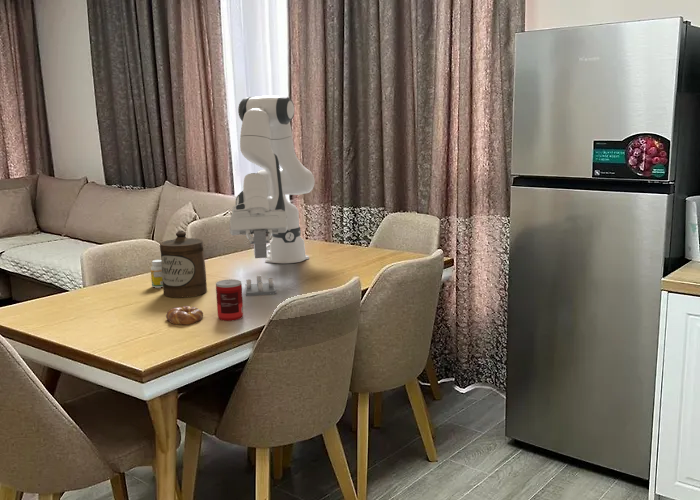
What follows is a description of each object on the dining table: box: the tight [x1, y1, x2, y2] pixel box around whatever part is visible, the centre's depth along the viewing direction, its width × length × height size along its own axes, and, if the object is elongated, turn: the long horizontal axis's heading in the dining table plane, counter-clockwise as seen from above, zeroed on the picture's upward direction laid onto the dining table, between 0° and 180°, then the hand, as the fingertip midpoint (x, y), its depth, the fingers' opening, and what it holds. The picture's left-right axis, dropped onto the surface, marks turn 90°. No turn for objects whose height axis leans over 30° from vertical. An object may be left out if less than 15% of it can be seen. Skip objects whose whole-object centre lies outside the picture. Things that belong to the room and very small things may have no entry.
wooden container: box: [159, 230, 208, 299], centre depth 237 cm, size 15×15×22 cm
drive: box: [252, 229, 268, 259], centre depth 236 cm, size 7×4×9 cm, turn 10°
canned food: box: [215, 278, 244, 322], centre depth 206 cm, size 8×8×11 cm
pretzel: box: [165, 305, 204, 326], centre depth 206 cm, size 12×11×4 cm
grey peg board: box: [244, 275, 277, 297], centre depth 239 cm, size 13×10×4 cm
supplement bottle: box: [150, 259, 163, 289], centre depth 248 cm, size 5×5×10 cm
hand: (259, 242), depth 236 cm, fingers closed on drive, 4 cm apart
